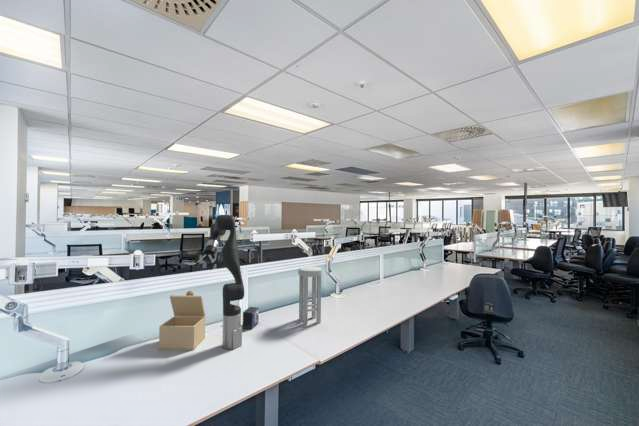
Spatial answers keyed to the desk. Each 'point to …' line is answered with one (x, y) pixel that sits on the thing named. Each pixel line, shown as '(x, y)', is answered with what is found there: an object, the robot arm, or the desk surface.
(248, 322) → the small box
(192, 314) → the lid flap
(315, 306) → the stool
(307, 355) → the desk surface
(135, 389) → the desk surface
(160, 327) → the carton
